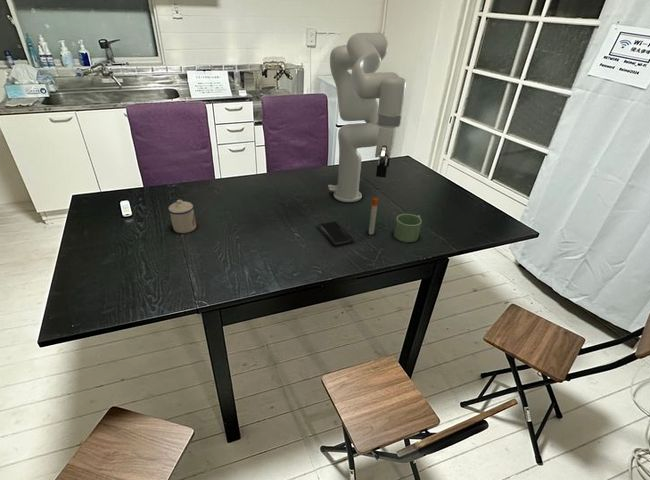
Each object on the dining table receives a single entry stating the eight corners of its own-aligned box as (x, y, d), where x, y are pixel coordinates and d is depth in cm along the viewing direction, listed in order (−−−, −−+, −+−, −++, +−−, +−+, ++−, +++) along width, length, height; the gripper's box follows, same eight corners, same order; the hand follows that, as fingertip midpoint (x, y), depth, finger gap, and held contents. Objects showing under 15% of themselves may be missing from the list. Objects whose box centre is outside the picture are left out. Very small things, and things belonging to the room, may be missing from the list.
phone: (334, 243, 137) (318, 224, 148) (333, 246, 137) (318, 226, 148) (353, 239, 139) (336, 220, 150) (353, 242, 140) (336, 223, 151)
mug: (409, 245, 139) (412, 228, 135) (388, 235, 144) (391, 219, 140) (427, 233, 146) (430, 217, 141) (407, 224, 151) (410, 208, 147)
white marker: (367, 234, 145) (372, 199, 136) (368, 231, 146) (372, 197, 138) (373, 235, 144) (377, 200, 136) (374, 232, 146) (378, 197, 137)
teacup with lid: (199, 230, 146) (194, 202, 139) (175, 236, 142) (169, 208, 135) (192, 217, 154) (186, 190, 147) (169, 222, 151) (162, 195, 144)
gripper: (380, 112, 129) (374, 162, 139) (373, 126, 115) (368, 179, 125) (402, 114, 127) (395, 164, 137) (398, 128, 113) (391, 182, 123)
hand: (382, 171), depth 131 cm, fingers open, 9 cm apart
